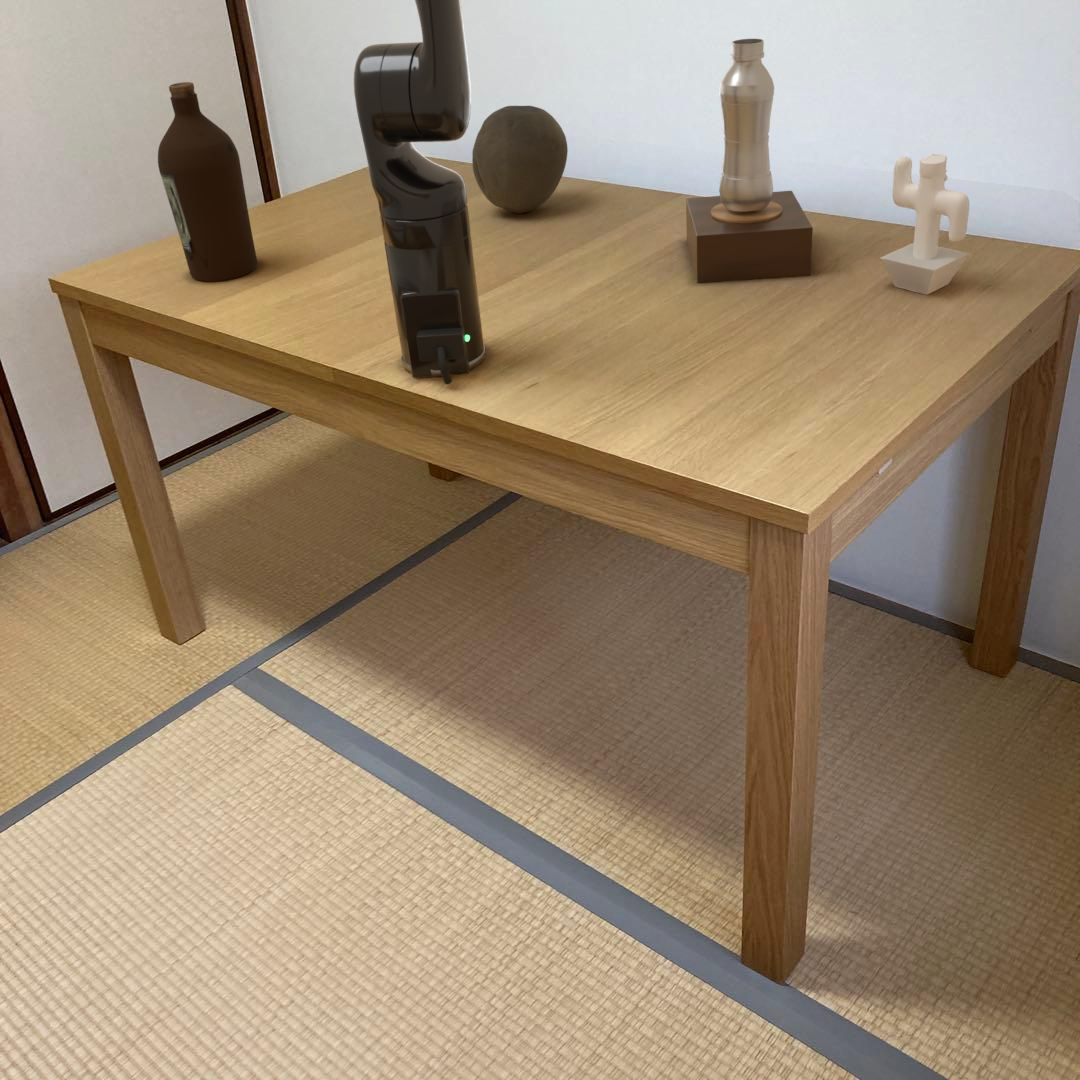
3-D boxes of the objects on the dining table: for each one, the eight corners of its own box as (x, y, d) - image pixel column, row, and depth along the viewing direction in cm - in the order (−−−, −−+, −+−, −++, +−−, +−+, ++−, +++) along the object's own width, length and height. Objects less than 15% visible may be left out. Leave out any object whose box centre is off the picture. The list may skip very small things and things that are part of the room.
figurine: (938, 303, 132) (953, 170, 124) (869, 285, 139) (879, 158, 131) (974, 285, 136) (990, 155, 128) (905, 268, 142) (916, 144, 134)
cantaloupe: (556, 223, 169) (548, 117, 161) (465, 223, 173) (453, 119, 165) (580, 195, 181) (574, 95, 173) (495, 195, 184) (485, 97, 176)
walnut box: (810, 275, 143) (813, 225, 140) (697, 283, 144) (696, 233, 141) (790, 234, 157) (792, 188, 153) (686, 242, 158) (686, 195, 154)
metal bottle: (771, 217, 144) (776, 45, 133) (716, 218, 145) (717, 47, 134) (773, 201, 149) (778, 35, 138) (720, 202, 150) (720, 37, 140)
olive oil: (257, 253, 169) (217, 72, 156) (267, 274, 160) (226, 85, 147) (183, 266, 166) (136, 84, 153) (189, 289, 158) (141, 97, 145)
